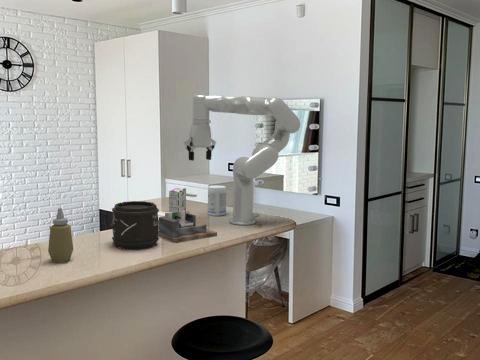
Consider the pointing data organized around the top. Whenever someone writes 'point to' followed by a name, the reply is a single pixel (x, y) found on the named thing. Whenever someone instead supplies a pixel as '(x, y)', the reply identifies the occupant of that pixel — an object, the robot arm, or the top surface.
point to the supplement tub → (216, 200)
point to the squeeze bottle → (60, 239)
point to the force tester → (175, 234)
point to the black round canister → (135, 225)
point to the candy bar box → (177, 200)
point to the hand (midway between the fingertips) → (200, 159)
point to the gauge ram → (187, 220)
